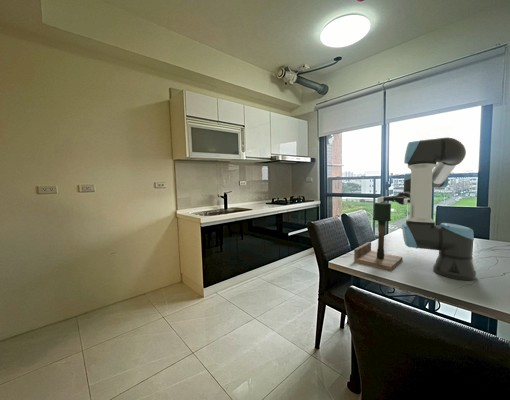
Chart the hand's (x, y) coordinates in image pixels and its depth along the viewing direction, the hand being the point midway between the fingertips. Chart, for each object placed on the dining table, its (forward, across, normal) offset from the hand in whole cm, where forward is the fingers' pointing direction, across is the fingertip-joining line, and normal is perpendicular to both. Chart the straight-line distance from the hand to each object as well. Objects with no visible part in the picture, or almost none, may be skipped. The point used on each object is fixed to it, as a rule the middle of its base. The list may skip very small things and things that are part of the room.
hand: (390, 200), depth 128 cm
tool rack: (+11, +1, -32) cm, 34 cm away
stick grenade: (+11, 0, -31) cm, 33 cm away
